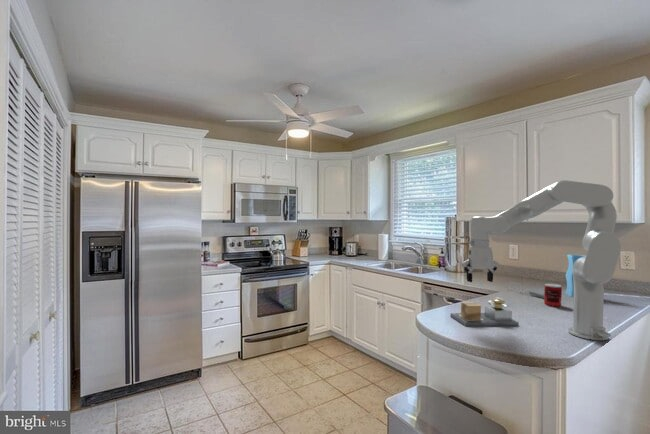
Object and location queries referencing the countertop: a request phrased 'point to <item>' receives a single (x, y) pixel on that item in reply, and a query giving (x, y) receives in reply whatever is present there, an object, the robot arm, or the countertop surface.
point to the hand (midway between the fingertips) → (479, 281)
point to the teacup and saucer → (493, 302)
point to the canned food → (552, 295)
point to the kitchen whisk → (529, 291)
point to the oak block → (470, 310)
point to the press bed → (489, 318)
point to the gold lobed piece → (498, 303)
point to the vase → (571, 274)
